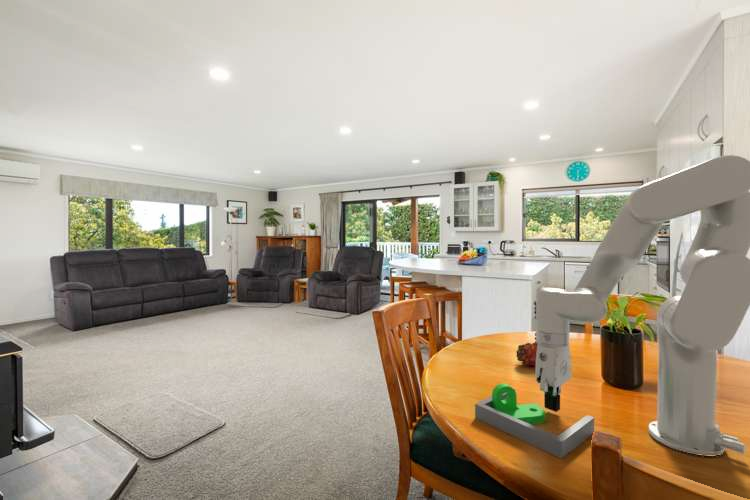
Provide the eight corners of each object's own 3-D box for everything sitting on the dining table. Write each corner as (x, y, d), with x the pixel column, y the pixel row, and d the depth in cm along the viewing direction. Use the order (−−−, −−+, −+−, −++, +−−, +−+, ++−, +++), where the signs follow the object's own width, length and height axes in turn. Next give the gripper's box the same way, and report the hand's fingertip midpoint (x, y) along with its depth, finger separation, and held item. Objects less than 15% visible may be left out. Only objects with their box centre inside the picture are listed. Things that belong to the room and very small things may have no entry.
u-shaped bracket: (593, 432, 81) (594, 417, 81) (561, 458, 72) (562, 441, 72) (510, 399, 98) (510, 387, 98) (475, 417, 89) (475, 403, 89)
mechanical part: (503, 427, 84) (504, 394, 84) (492, 415, 90) (492, 383, 90) (550, 423, 86) (550, 390, 86) (535, 411, 92) (535, 380, 92)
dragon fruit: (517, 373, 121) (537, 370, 128) (537, 363, 116) (557, 361, 123) (506, 348, 126) (526, 347, 133) (525, 339, 120) (545, 338, 127)
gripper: (553, 346, 83) (553, 424, 83) (580, 335, 92) (580, 405, 93) (523, 339, 88) (522, 412, 89) (551, 329, 98) (551, 395, 98)
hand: (552, 408), depth 91 cm, fingers closed
